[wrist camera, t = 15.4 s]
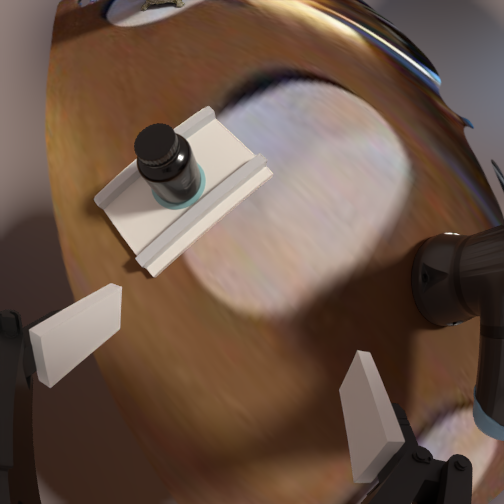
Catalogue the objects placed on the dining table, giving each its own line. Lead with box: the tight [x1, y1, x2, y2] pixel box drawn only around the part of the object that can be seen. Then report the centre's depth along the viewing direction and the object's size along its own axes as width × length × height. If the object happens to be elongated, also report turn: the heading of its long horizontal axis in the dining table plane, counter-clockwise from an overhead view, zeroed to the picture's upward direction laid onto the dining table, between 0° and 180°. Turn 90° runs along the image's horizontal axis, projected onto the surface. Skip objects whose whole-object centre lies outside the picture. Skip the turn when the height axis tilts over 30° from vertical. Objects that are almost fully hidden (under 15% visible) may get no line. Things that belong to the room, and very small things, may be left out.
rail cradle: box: [94, 106, 273, 277], centre depth 39 cm, size 22×16×3 cm
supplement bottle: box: [134, 123, 201, 204], centre depth 34 cm, size 7×7×12 cm
